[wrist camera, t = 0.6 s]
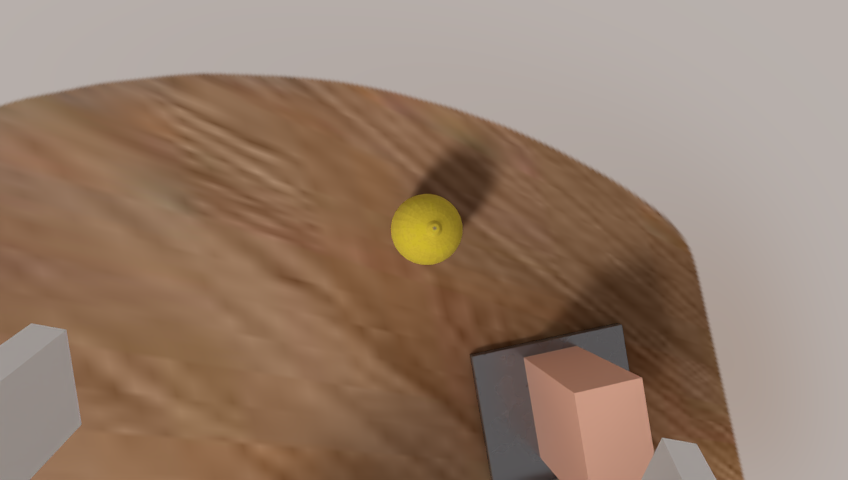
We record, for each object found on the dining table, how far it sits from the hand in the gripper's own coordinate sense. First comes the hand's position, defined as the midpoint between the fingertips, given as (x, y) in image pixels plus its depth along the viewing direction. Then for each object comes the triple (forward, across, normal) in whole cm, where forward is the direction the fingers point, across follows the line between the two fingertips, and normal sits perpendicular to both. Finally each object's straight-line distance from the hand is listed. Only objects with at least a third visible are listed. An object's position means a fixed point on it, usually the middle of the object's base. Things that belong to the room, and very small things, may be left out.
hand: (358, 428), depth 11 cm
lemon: (+31, 0, +8) cm, 32 cm away
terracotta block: (+27, -15, +20) cm, 37 cm away
